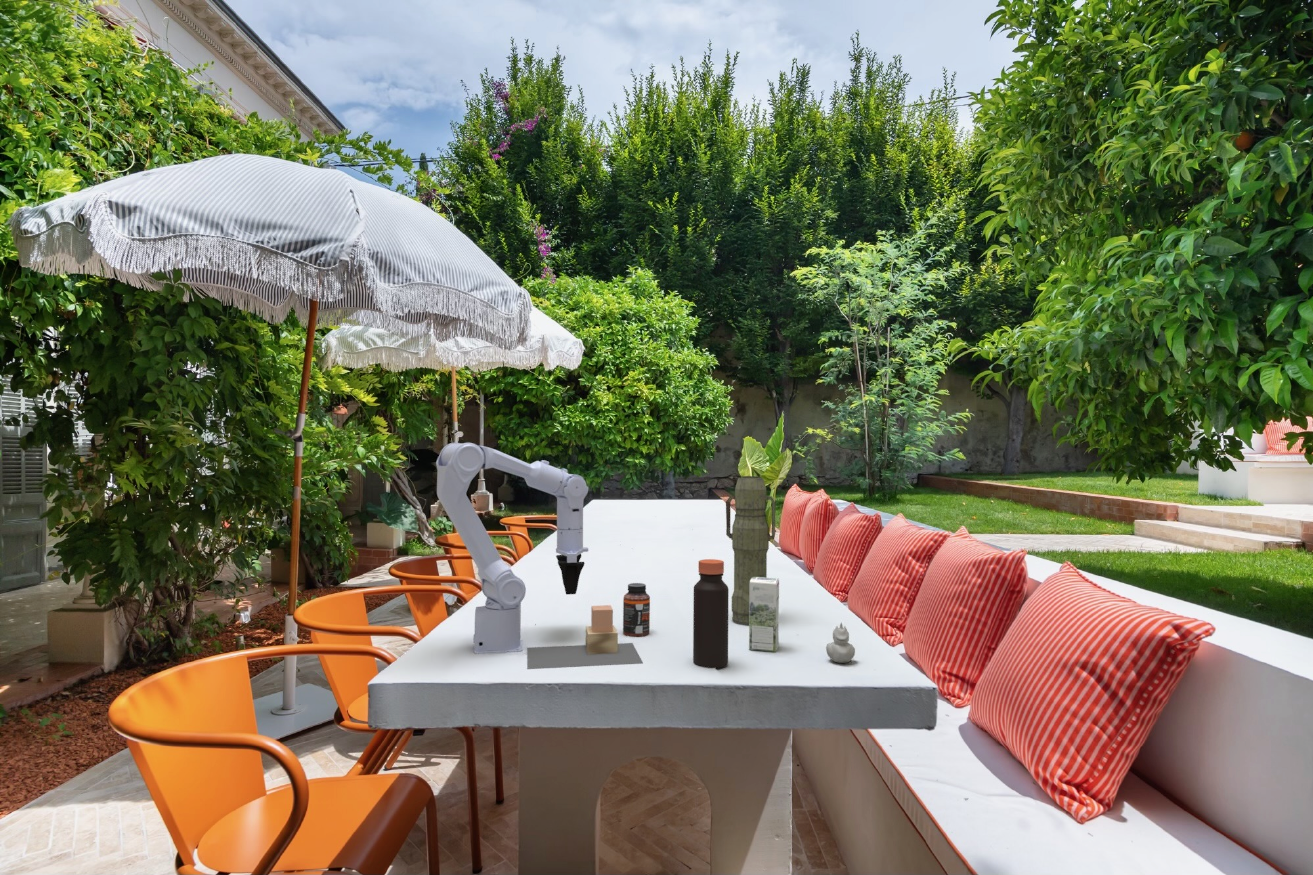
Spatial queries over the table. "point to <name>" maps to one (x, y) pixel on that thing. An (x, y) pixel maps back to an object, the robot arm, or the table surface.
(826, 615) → the table surface
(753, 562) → the thermos
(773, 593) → the syrup box
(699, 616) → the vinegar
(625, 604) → the supplement bottle
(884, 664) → the table surface
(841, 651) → the rubber duck
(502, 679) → the table surface
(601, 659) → the mat
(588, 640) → the oak block
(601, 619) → the terracotta block
